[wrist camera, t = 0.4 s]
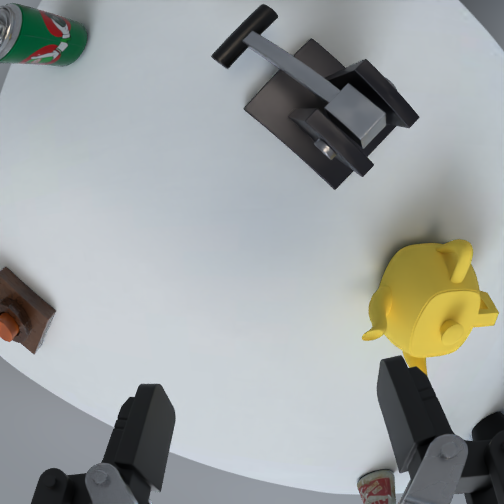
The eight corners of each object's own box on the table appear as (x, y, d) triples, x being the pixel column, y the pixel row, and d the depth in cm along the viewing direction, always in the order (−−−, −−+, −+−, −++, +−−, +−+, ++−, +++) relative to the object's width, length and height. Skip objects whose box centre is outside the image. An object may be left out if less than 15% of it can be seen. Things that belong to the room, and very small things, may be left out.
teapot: (339, 281, 34) (361, 341, 25) (434, 205, 30) (486, 243, 21) (395, 347, 38) (419, 403, 29) (475, 286, 34) (515, 332, 25)
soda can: (62, 20, 22) (-13, 1, 11) (97, 25, 23) (24, 1, 12) (45, 62, 24) (-34, 60, 13) (79, 70, 25) (0, 66, 14)
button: (-1, 321, 35) (-8, 329, 33) (3, 307, 34) (-5, 315, 32) (17, 337, 36) (10, 345, 34) (21, 324, 34) (13, 332, 33)
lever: (220, 64, 21) (204, 51, 19) (268, 14, 19) (256, -2, 17) (345, 168, 19) (340, 161, 16) (402, 108, 17) (404, 94, 15)
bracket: (244, 108, 27) (229, 108, 15) (309, 40, 24) (342, -5, 12) (332, 187, 30) (374, 240, 18) (394, 122, 27) (470, 138, 15)
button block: (-5, 306, 38) (-18, 320, 35) (5, 266, 35) (-11, 279, 31) (40, 346, 41) (28, 362, 37) (56, 310, 38) (42, 327, 34)
